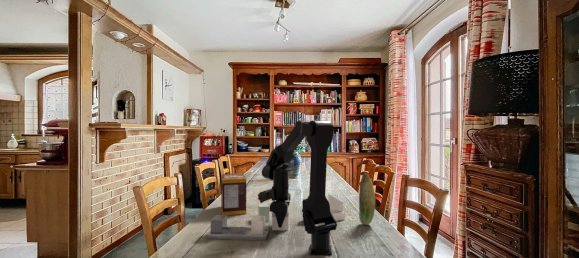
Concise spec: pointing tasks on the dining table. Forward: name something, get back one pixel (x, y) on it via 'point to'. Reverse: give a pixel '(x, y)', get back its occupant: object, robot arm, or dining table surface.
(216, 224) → the rail
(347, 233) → the dining table surface
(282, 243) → the dining table surface
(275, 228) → the block
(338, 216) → the white angled block
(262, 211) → the green block
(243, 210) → the supplement box
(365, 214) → the vegetable
